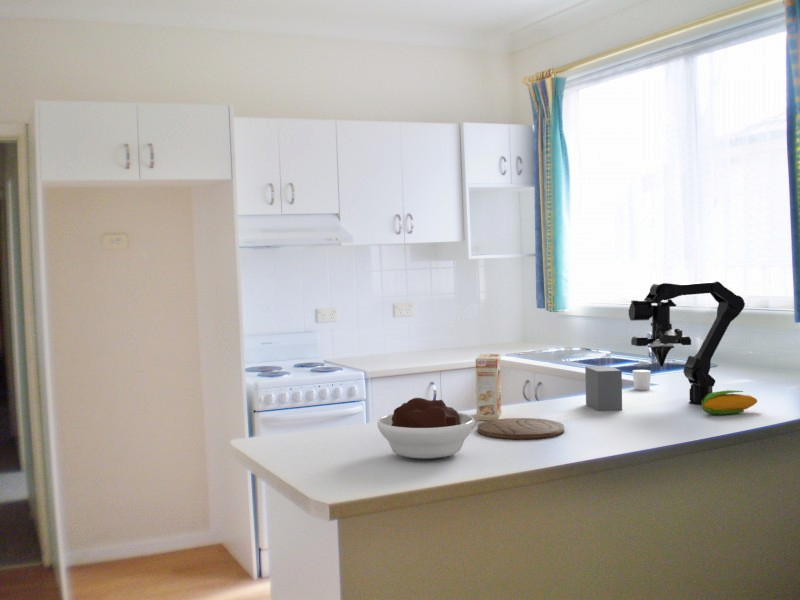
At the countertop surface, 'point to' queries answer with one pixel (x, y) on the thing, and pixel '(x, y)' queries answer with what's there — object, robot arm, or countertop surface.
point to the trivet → (520, 429)
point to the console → (604, 388)
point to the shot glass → (641, 379)
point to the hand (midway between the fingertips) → (661, 366)
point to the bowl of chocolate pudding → (426, 429)
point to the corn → (727, 402)
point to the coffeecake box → (488, 386)
